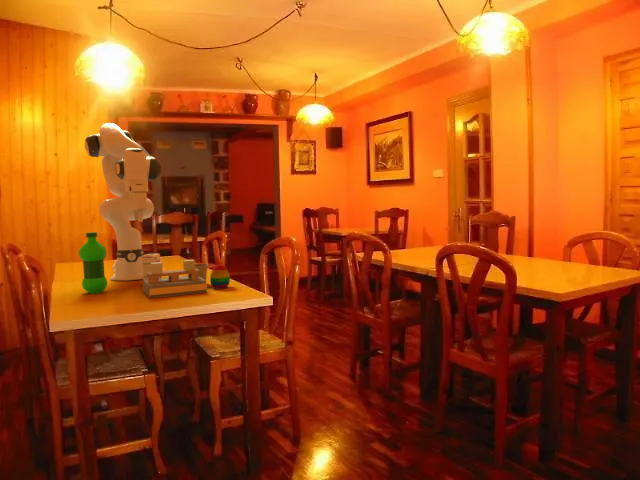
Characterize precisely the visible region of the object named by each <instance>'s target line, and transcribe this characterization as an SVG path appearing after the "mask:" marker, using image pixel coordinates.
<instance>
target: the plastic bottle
mask: <svg viewBox="0 0 640 480" xmlns="http://www.w3.org/2000/svg"><path fill="white" fill-rule="evenodd" d="M97 237H98V232H95V231H93V232H85V238H87V240H86V242H85V243H84V244H83V245H82V246H80V247H79V249H78V256H79V258H80V259H81V260H82V267H83V268H82V269H83V278H82V282H81V287H82V289H83V290H85V292H87V293H88V294H92V295H93V294H101V293H102V292H103V291H104V290H105V289H106V288H107V286H108V279H107V278H106V276H105V263H104V260H105V258H106V257H107V248H106V247H105V246H104V245H103V244H102V243H101V242H99V241H98V240H97Z"/></svg>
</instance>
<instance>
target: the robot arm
mask: <svg viewBox="0 0 640 480" xmlns="http://www.w3.org/2000/svg"><path fill="white" fill-rule="evenodd" d="M84 140H85V141H84V149H85V151H86V152H87V154H88V156H90V157H93V158H99V157H102V158H101V167H102V173H103V177H104V180H105V183H106V186H107V189H108V191H109V192H110V193H111V194H112V195H114V196H115V197H113V198H108V199H104V200H103V201H102V202H101V203H100V205H99V213H100V217H102V219H103V220H104V221H106V222H108V223H109V224H110V225H111V227H112V229H113V230H114V232H115V237H116V243H117V244H116V247H117V250H116V260H115V261H114V264H113V266H112V271H113V275H112V276H111V277H110V281H136V280H143V270H142V255H144V249H143V245H142V234H141V232H140V231H139V230H138V229H137V228H135V227H132V225H131V222H130V221H135V222H139V223H143V221H144V220H145V219H148V218H149V219H150V218H151V217H152V216H153V214H154V211H155V206H154V203H153V202H152V200H151V199H150V198H148V197H147V196H148V195H147V194H148V193H147V192H149V182H155V181H157V180H158V179H159V178H160V176H161V174H162V165H161V163H160V161H158V159H157V158H155V157H153V156H152V155H151V154H150V153H149V152H148V151H147V150H146V149H145V148H144V147H143V146H142V145H141V144H140V143H138V142H135V141H134V139H133V136H132V135H131V133H130V132H129V131H127V130H122V129H121V128H120V127H119V126H118V125H117V124H115V123H111V122H107V123H104V124H103V125H101V126H100V128H99V132H98V133H96V134H93V133H92V134H91V135H88V136H87V137H85V139H84Z"/></svg>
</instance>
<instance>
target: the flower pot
mask: <svg viewBox="0 0 640 480" xmlns="http://www.w3.org/2000/svg"><path fill="white" fill-rule="evenodd" d="M208 267H209V264H208V263H195V269H198V270H200V273H199V277H201V278H203V279H204V280H206V281H207V273H208Z"/></svg>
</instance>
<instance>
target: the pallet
mask: <svg viewBox="0 0 640 480" xmlns="http://www.w3.org/2000/svg"><path fill="white" fill-rule="evenodd" d="M199 273H200V270H198V269H195V270H192V271H185V270H184V269H176V270H173V269H172V270H163V273H157V274H152V273H151V272H149V273H147V276H148V280H149V282H150V283H159V279H158V277H161V278H162V277H168V278H169V280H170V281H179V277H180V275H183V276H184V275H187V276H188V278H190V279H191V280H193V279H199Z"/></svg>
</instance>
